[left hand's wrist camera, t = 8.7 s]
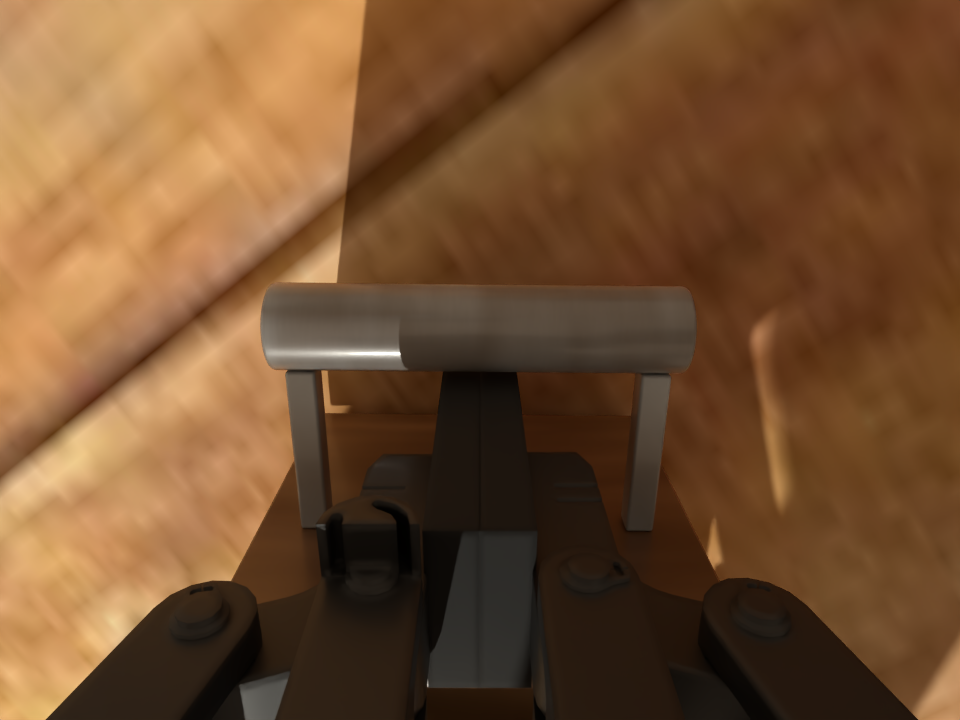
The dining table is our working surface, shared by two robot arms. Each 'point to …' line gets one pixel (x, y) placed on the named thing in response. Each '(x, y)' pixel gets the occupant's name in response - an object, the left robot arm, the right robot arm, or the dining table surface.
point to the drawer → (447, 348)
